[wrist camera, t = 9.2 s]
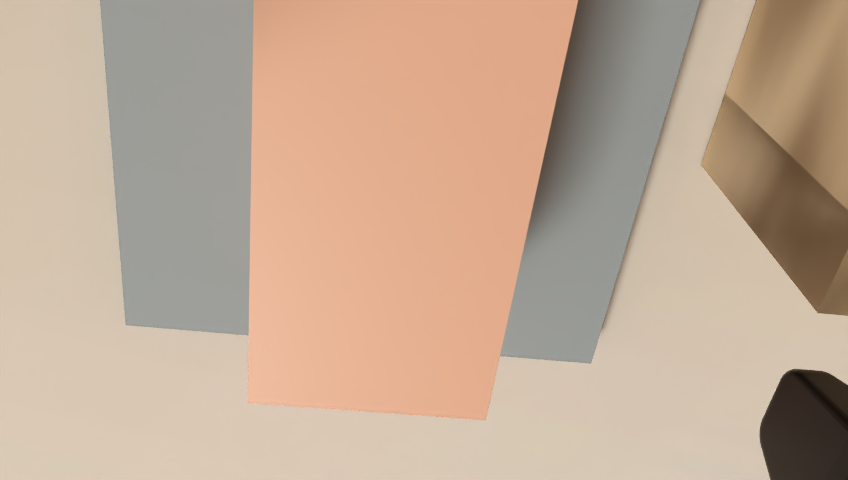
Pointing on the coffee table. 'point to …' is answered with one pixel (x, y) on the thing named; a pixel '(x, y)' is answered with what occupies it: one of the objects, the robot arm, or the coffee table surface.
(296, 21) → the salmon orange block
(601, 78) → the mat
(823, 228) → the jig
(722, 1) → the coffee table surface
